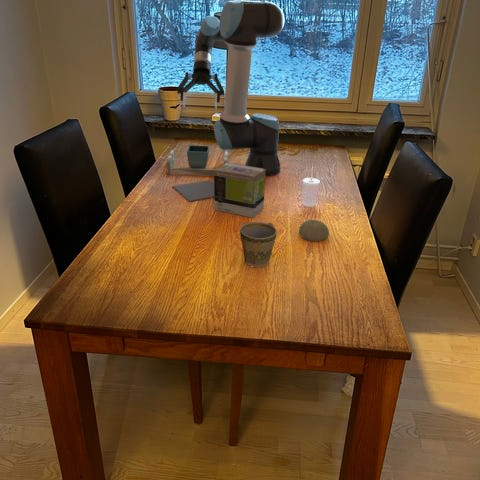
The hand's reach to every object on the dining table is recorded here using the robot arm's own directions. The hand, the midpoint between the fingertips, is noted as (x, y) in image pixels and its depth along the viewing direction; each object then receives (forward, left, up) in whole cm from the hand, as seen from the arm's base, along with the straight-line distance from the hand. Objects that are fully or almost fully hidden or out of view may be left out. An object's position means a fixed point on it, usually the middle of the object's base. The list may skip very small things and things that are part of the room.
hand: (199, 107), depth 196 cm
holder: (-10, +5, -23) cm, 26 cm away
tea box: (-54, +10, -23) cm, 60 cm away
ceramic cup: (-87, +22, -23) cm, 93 cm away
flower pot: (-10, +5, -23) cm, 26 cm away
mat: (-33, +15, -23) cm, 43 cm away
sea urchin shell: (-82, -1, -24) cm, 85 cm away
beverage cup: (-61, -15, -23) cm, 67 cm away
